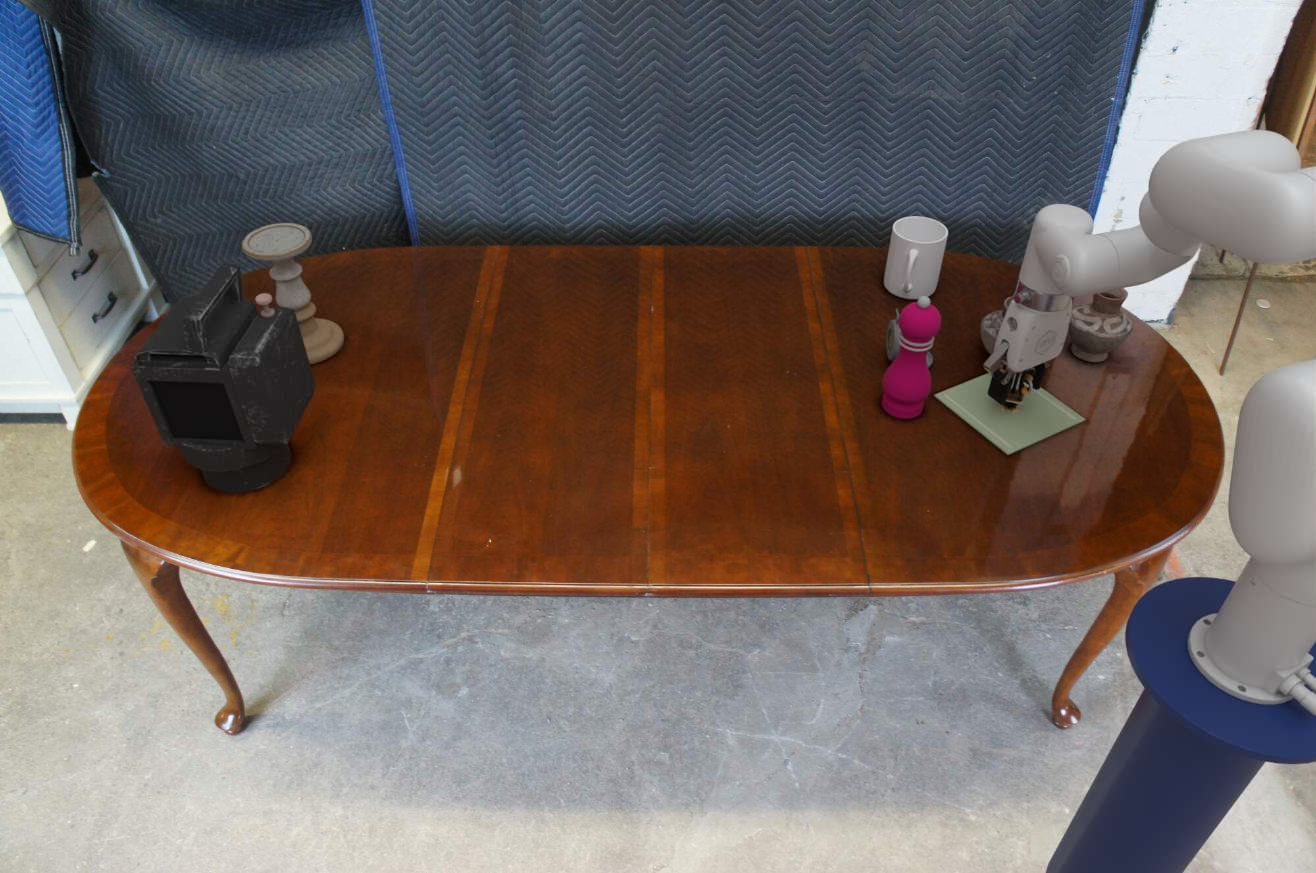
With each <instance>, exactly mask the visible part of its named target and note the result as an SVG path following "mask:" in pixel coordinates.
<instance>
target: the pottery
mask: <svg viewBox="0 0 1316 873" xmlns="http://www.w3.org/2000/svg"><path fill="white" fill-rule="evenodd" d="M1013 296H1014V295H1011V296H1009V297H1007V298H1006V299H1005V300H1004V302H1003V305H1002V309H999V310H996V311H993V312H989V313H988V314H987V315H985V316H984V317H983V318H982V320H981V321H980V329H979V330H980V337H981V341H982V344H983V347H984V348H985V350H986V351H987V352H988V354H990V356H991V355H992V354H993V353H994V347H995V343H996V339H997V336H998V333H999V330H1000V327H1001V324H1002V322H1003V319H1004V317H1005V314H1006V312H1007V310H1008V308H1009V306H1010V303H1011V301H1012V300H1013V299H1014V297H1013ZM1128 296H1129V292H1128V291H1127V290H1126V288H1121V289H1116V290H1111V291H1106V292H1102V293H1097V294H1093V297H1092V302H1087V303H1083V304H1080V305H1077V306H1075V307H1072V311H1071V318H1070V323H1069V327H1068V331H1067V332H1068V335H1069V338H1070V340H1071V341H1072V345H1071V347H1070V351H1071V353H1072V354H1073V355H1074V356H1076V358H1078V359H1080V360H1082V361H1086V362H1090V363H1100V362H1103V361H1105V360H1106V359H1108V357H1109V353H1111V352H1113V351H1114V350H1116V349H1117V348H1119V347H1120V346H1122V344H1123V343H1124V342H1125V341H1126V340H1127V339H1128V338H1129V337H1130V335H1131V334H1132V332H1133V330H1134V323H1133V321H1132V320H1131V319H1130V317H1128V315H1126V314H1125V313H1124V311H1123V310H1121V308H1122V306H1123V304H1124V302H1126V300H1127V299H1128ZM1006 359H1007V357H1006ZM1001 369H1003V366H1002V368H1001ZM1006 369H1008V367H1007V366H1006Z"/></svg>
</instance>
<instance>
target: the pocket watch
mask: <svg viewBox="0 0 1316 873" xmlns="http://www.w3.org/2000/svg"><path fill="white" fill-rule="evenodd" d="M895 313H896V316H895V319H891V320H890V321H889V322H888V326H887V329H886V330H887V331H886V336H885V337H886V339H885V340H886V342H885V344H886V345H885V346H886V347H885V348H886V355H887V358H888V361H891V362H892V363H893V362H894V360H895V359H896V358H897V356H898V354H899V352H900V347H901V345H900V343H899V341H898V338H899V333H900V331H901V329H900V327H899V324H898V322H899V316H900V313H899V310H898V308H895ZM926 361H927V366H928V369H929V368H930V367H931V366H932V364H933V362H934V359H933V355H932V354H931V352H930V351H929V350H928V351H927V357H926Z"/></svg>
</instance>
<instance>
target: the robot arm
mask: <svg viewBox="0 0 1316 873" xmlns="http://www.w3.org/2000/svg"><path fill="white" fill-rule="evenodd" d="M1138 208H1139V209H1138V220H1139V224H1138V225H1136V226H1135V225H1134V226H1132V227H1129V228H1123V229H1116V230H1110V231H1105V232H1099V233H1095V234H1093V231H1094V219H1093V218H1092V216H1091V214H1090V213H1089V212H1087V211H1086V210H1084V209H1083V208H1081V207H1079V206H1075V205H1071V204H1066V203H1054V204H1050V205H1046V206H1044V207H1042V208H1041V209H1040V210H1039V211H1038V212H1037V214H1036V215H1035V217H1034V219H1033V220H1034V221H1033V224H1032V226H1031V231H1030V234H1029V238H1028V241H1027V244H1026V249H1025V252H1024V256H1023V260H1022V262H1021V263H1022V264H1021V267H1020V270H1019V274H1018V279H1017V282H1016V286H1015V289H1014V292H1013V295H1012V296H1013V297H1014V299H1013V300H1012V301H1011V303H1010V306H1009V308H1008V310H1007V312H1006V314H1005V317H1004V319H1003V322H1002V324H1001V327H1000V330H999V333H998V336H997V339H996V343H995V347H994V353H993V354H992V355H991V354H990V356H989V357H988V358H987V359H986V360H985V361H984V363H983V365H982V367H983V368H984V370H986V371H987V373H989V374H990V375H991V376H992V378H991V382H990V386H989V389H988V395H989V396H990V397H991V398H993V399H994V400H995V401H997V402H998V403H999V404H1001V405H1003V404H1005V402H1006V399H1007V396H1008V393H1009V389H1010V386H1011V383H1010V382H1009V380H1010V378H1011V377H1012V375H1013V373H1014V372H1020V371H1023V372H1024V371H1025V370H1026V369H1029V368H1031V367H1033V368H1035V374H1034V375H1033V376H1032V377H1033V380H1032V381H1031V382H1032V385H1033V389H1035V390H1038V389H1040V387H1041V388H1042V383H1043V380H1044V377H1045V374H1046V371H1047V368H1048V367H1050V365H1051V363H1052V360H1053V359H1055V358H1057V357H1058V356H1059V355H1061V353H1062V351H1063V349H1064V346H1065V343H1066V342H1065V341H1066V340H1067V338H1068V337H1067V336H1068V332H1069V331H1068V327H1069V323H1070V318H1071V311H1072V309H1073V299H1072V298H1081V297H1086V296H1091V295H1094V294H1097V293H1102V292H1106V291H1111V290H1116V289H1121V288H1124V289H1126V288H1130V287H1131V288H1132V287H1136V286H1140V285H1144V284H1147V283H1149V282H1152V281H1155V280H1158V279H1159V278H1161V277H1163V276H1165V275H1167V274H1169V273H1171V272H1173V271H1174V270H1177V269H1179V268H1180V267H1182V266H1184V265H1186V264H1187V263H1189V262H1190V261H1191V260H1192V259H1193V258H1194V257H1196V256H1195V255H1196V254H1197V252H1198V251H1199V249H1200V247H1201V245H1204V244H1205V243H1208V244H1210V245H1211V246H1215V247H1217V248H1219V249H1221V250H1224V251H1226V252H1228V253H1230V254H1232V255H1235V256H1237V257H1239V258H1242V259H1244V260H1246V261H1249V262H1253V263H1255V264H1261V265H1269V266H1283V265H1290V264H1296V263H1300V262H1306V261H1311V260H1315V259H1316V166H1309V167H1304V168H1302V160H1301V156H1300V153H1299V150H1298V148H1297V147H1296V146H1295V144H1294V143H1293V142H1292V141H1291V140H1289V138H1288V137H1285V136H1284V135H1282V134H1280V133H1277V132H1275V131H1271V130H1265V129H1248V130H1241V131H1240V130H1239V131H1235V132H1228V133H1227V132H1226V133H1221V134H1215V135H1212V136H1211V135H1210V136H1204V137H1199V138H1192V139H1187V140H1184V141H1182V142H1179V143H1178V144H1176V145H1173V146H1172V147H1170V148H1169V149H1168V150H1167V151H1165V152H1164V153H1163V154H1162V155H1161V156H1160V157H1159V159H1158V160H1157V162H1156V163H1155V164H1154V166H1153V168H1152V170H1151V172H1150V175H1149V180H1148V189H1147V191H1146V193H1144V195H1143V197H1142V198H1141V201H1140V203H1139V207H1138ZM1006 357H1007V359H1006ZM1003 364H1004V365H1006V366H1007V367H1008V369H1007V371H1006V373H1005V374H1004V373H1002V372H1001V371H1000V369H1001V368H1002V366H1003ZM1031 372H1032V371H1029V372H1028V373H1027V374H1031ZM1024 382H1025V381H1024ZM1025 383H1026V382H1025ZM1026 384H1028V383H1026ZM1028 385H1029V384H1028ZM1238 414H1239V415H1238V420H1237V426H1236V434H1235V442H1234V451H1233V456H1232V457H1233V458H1232V466H1231V473H1230V482H1229V489H1228V500H1227V502H1228V505H1227V508H1228V512H1227V513H1228V520H1229V525H1230V528H1231V531H1232V534H1233V536H1234V539H1235V540H1236V542H1237V544H1238V545H1239V546H1240V548H1241V549H1242V550H1243V551H1244V552H1245V553H1246V554H1247V555H1248V556H1249V559H1248V560H1247V562H1246V564H1245V566H1244V567H1243V569H1242V571H1241V572H1240V574H1239V576H1238V577H1237V579H1236V581H1235V582H1236V583H1235V585H1234V586H1233V588H1232V590H1231V591H1230V593H1229V595H1228V597H1227V598H1226V600H1225V602H1224V603H1223V605H1222V607H1221V609H1220V610H1219V612H1218V613H1216V614H1210V615H1208V616H1205V617H1203V618H1201V619H1200V620H1198V621H1197V622H1196V623H1195V624H1194V626H1193V627H1192V629H1191V631H1190V633H1189V635H1188V640H1187V645H1188V651H1189V654H1190V657H1191V659H1192V661H1193V663H1194V664H1195V666H1196V667H1197V668H1198V670H1199V671H1200V672H1201V674H1203V675H1204V676H1205V677H1206V678H1207V679H1208V680H1209V681H1210V682H1211V683H1213V684H1214V685H1215V686H1217V687H1218V688H1219V689H1221V690H1223V691H1224V692H1226V693H1228V694H1230V695H1232V696H1234V697H1237V698H1239V699H1241V700H1245V701H1248V702H1252V703H1257V704H1263V705H1275V704H1281V703H1285V702H1287V701H1290V700H1292V699H1293V698H1295V699H1296V700H1297V701H1299V702H1300V704H1301V705H1302V706H1303V707H1304V708H1306V709H1307V710H1308V711H1309V712H1311V713H1312V714H1313V715H1316V694H1315V693H1314V692H1316V678H1315V677H1314V676H1312V675H1311V674H1310V673H1311V671H1310V670H1309V669H1308V668H1307V667H1308V666H1309V665H1310V663H1311V662H1312V660H1313V659H1314V657H1313V656H1311V655H1310V654H1309V653H1308V652H1309V651H1310V649H1311V648H1312V646H1313V645H1314V643H1315V642H1316V355H1314V356H1313V357H1312V358H1310V359H1308V360H1305V361H1304V360H1303V361H1300V362H1295V363H1291V364H1288V365H1284V366H1281V367H1278V368H1275V369H1273V370H1270V371H1269V372H1267V373H1266V374H1264V375H1262V376H1261V377H1260V378H1258V380H1256V382H1255V383H1254V384H1253V385H1252V386H1251V387H1250V389H1249V390H1248V392H1247V393H1246V395H1245V397H1244V399H1243V401H1242V404H1241V406H1240V410H1239V413H1238ZM1305 684H1306V685H1308V686H1309V687H1310V689H1312V690H1313V691H1314V692H1311V691H1310V690H1308V689H1307V688H1306V687H1304V685H1305Z"/></svg>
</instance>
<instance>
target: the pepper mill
mask: <svg viewBox="0 0 1316 873" xmlns="http://www.w3.org/2000/svg"><path fill="white" fill-rule="evenodd" d="M899 315H900V316H899V322H898V324H899V327H900V329H901V331H900V333H899V338H898V341H899V343H900V345H901V347H900V352H899V354H898V356H897V358H896V359H895V360H894V362H892V363H891V364H890V365H889V366H888V368H887V369H886V371H885V372H884V375H883V378H882V382H881V383H882V389H883V391H884V392H883V394H882V399H881V407H882V408H883V410H884V411H885V413H887V414H888V415H889V416H892V417H894V418H897V419H905V420H907V419H908V420H909V419H913V418H916V417H918V416H920V415H921V414H922V412H923V410H924V405H925V399H926V398H927V397H928V396H929V395H930V392H931V389H932V377H931V372H930V369H929V368H928V366H927V361H926V357H927V351H928V352H929V350H930V349H931V348H932V347H933V345H934V341H935V336H936V335H937V334H938V333H939V331H940V329H941V326H942V315H941V312H939V310H938V309H937V307H936V306H934V305H933V304H931V299H930V297H929V296H928V297H927V296H921V297H920V298H919V299H917V301H913V302H910V303H909V304H907V305H906V306H904V308H902V310H901V312H900V313H899Z"/></svg>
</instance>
